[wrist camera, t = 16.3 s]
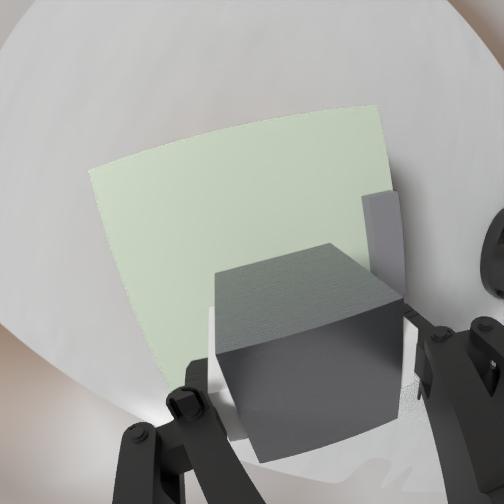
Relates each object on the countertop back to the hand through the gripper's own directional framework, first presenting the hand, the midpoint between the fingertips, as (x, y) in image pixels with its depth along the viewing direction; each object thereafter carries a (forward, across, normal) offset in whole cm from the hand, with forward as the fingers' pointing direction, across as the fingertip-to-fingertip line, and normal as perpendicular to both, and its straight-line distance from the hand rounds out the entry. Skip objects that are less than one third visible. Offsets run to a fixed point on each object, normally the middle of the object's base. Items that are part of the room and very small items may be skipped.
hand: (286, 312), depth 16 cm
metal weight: (0, 0, 0) cm, 0 cm away
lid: (+7, 0, 0) cm, 7 cm away
